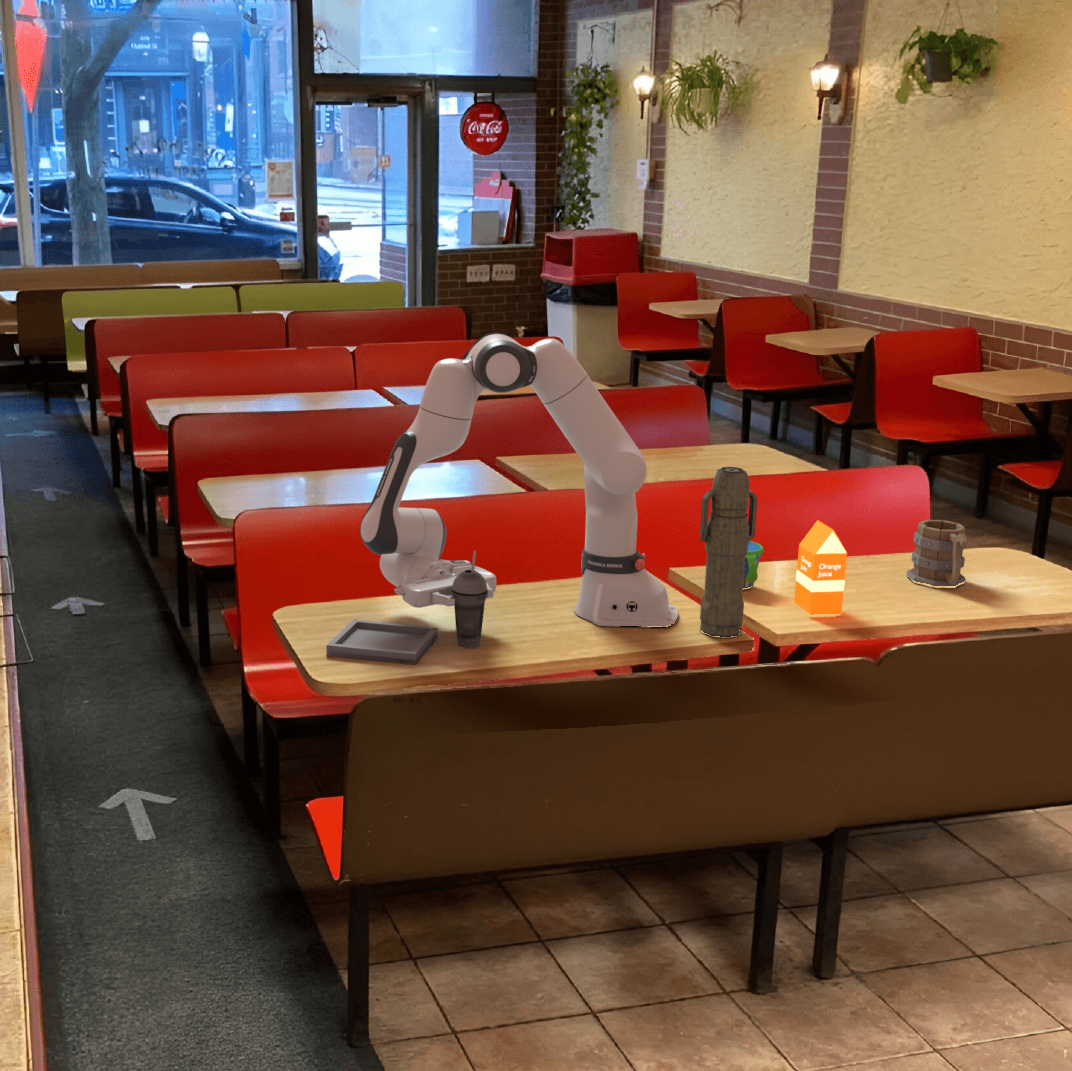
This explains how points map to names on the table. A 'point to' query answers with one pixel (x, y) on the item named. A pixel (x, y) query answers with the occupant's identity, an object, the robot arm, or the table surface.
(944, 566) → the tankard
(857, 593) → the table surface
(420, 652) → the tray
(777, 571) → the table surface
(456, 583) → the beverage cup
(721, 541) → the thermos
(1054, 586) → the table surface
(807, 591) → the orange juice
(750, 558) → the snack cup
